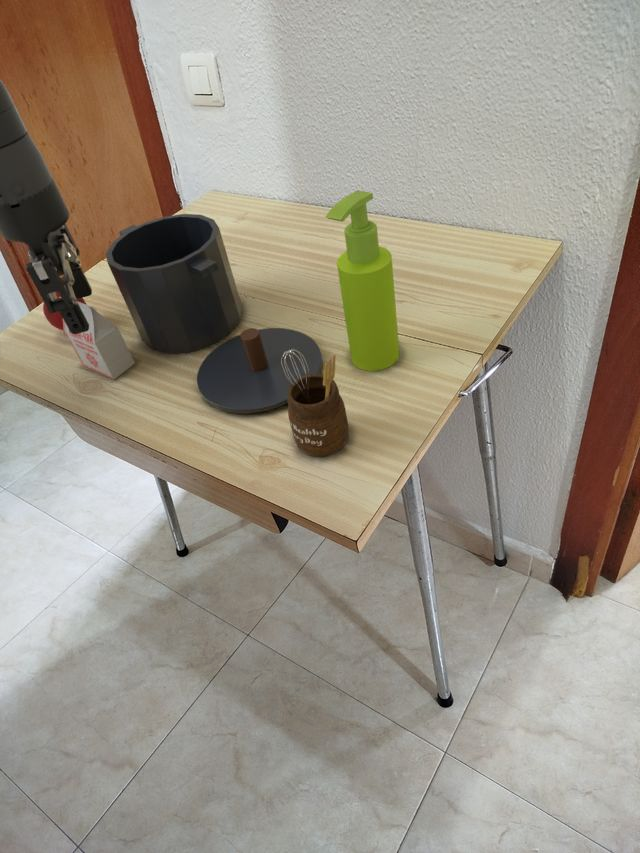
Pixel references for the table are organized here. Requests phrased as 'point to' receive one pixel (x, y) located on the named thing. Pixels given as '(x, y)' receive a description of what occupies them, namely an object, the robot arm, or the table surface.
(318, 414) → the utensil holder
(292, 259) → the table surface
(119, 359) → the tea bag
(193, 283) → the pot
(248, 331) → the lid
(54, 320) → the onion
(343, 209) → the soap dispenser
